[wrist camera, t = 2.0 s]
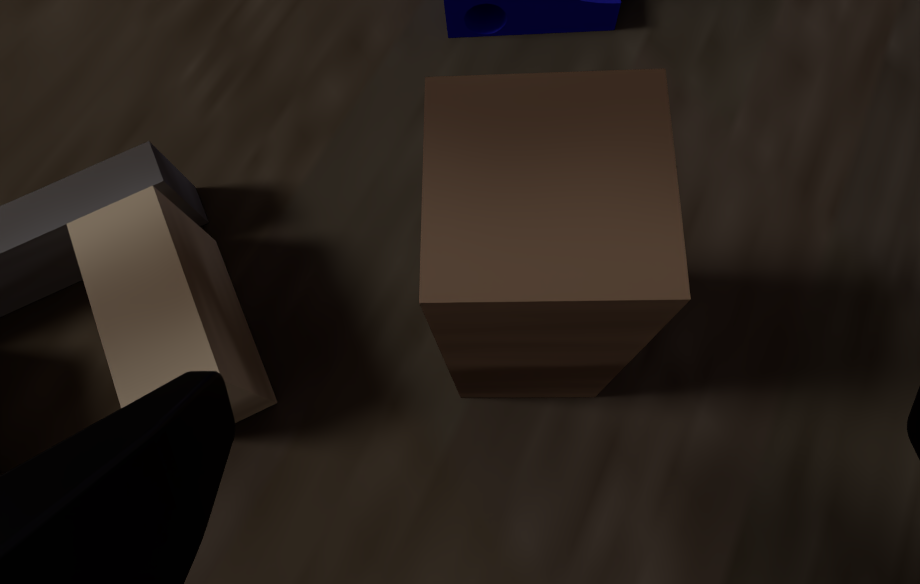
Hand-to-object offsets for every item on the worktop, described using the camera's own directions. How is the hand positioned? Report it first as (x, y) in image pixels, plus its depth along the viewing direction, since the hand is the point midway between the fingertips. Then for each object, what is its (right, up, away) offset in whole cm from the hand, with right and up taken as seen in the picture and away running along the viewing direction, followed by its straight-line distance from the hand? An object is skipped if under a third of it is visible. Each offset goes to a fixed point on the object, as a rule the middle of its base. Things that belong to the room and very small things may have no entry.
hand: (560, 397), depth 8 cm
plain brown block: (+1, 0, +11) cm, 11 cm away
